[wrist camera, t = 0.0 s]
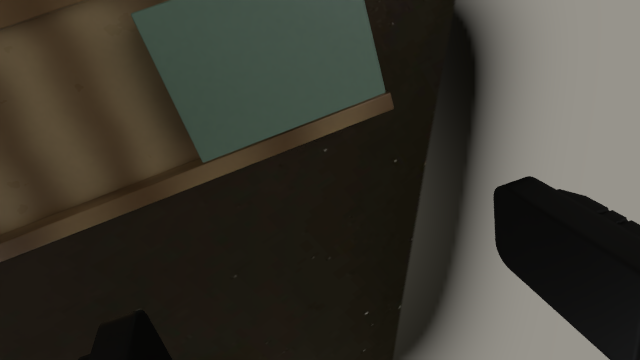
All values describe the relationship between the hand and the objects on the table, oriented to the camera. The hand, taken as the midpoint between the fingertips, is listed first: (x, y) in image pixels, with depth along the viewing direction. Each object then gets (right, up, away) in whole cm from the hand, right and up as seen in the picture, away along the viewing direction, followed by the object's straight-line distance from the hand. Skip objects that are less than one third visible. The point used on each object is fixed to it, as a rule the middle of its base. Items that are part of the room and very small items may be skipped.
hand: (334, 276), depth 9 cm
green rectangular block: (-4, +10, +17) cm, 20 cm away
